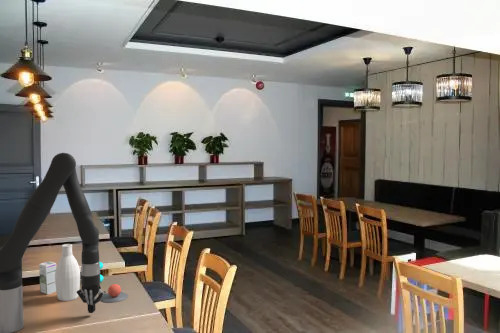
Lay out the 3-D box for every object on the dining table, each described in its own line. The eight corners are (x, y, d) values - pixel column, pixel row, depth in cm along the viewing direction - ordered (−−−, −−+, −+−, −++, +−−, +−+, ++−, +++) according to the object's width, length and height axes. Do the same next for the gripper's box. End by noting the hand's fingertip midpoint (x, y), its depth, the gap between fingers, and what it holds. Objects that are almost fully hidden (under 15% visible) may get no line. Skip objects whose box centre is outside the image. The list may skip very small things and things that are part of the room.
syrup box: (57, 291, 211) (56, 262, 210) (46, 295, 206) (45, 265, 205) (50, 289, 214) (49, 260, 213) (39, 292, 209) (38, 263, 208)
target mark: (102, 304, 194) (102, 304, 194) (96, 295, 205) (96, 295, 205) (131, 299, 201) (131, 298, 201) (123, 290, 212) (123, 290, 212)
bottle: (85, 294, 207) (84, 242, 206) (73, 302, 196) (72, 248, 194) (63, 293, 208) (62, 241, 207) (50, 301, 197) (49, 247, 196)
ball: (110, 284, 201) (116, 279, 207) (103, 292, 202) (109, 288, 208) (119, 292, 200) (125, 288, 206) (112, 301, 201) (118, 296, 207)
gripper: (109, 271, 183) (110, 310, 184) (82, 268, 186) (83, 307, 187) (99, 276, 176) (100, 317, 177) (71, 274, 179) (72, 314, 180)
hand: (91, 312), depth 182 cm, fingers closed
